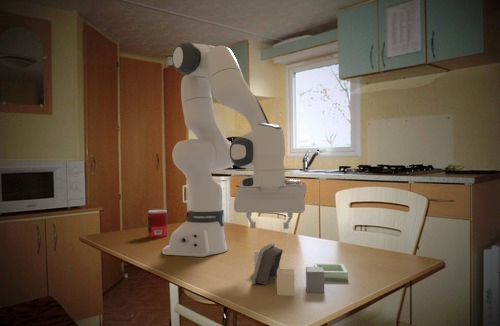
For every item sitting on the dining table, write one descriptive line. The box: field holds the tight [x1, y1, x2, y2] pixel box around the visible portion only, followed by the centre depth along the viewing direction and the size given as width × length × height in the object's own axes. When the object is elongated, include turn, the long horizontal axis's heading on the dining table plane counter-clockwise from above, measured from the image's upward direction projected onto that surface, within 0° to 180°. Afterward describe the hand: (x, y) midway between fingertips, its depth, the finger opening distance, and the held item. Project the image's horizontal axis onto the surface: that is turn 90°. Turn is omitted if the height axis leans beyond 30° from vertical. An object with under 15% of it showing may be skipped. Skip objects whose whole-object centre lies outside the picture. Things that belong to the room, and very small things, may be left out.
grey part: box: [305, 266, 325, 294], centre depth 89 cm, size 4×4×5 cm
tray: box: [313, 263, 349, 282], centre depth 100 cm, size 8×8×2 cm
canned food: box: [147, 209, 168, 239], centre depth 157 cm, size 8×8×11 cm
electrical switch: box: [251, 242, 284, 286], centre depth 97 cm, size 9×5×9 cm, turn 158°
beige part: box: [276, 268, 296, 297], centre depth 88 cm, size 4×4×5 cm
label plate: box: [253, 250, 281, 269], centre depth 104 cm, size 7×1×6 cm, turn 85°
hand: (269, 228), depth 107 cm, fingers open, 8 cm apart
